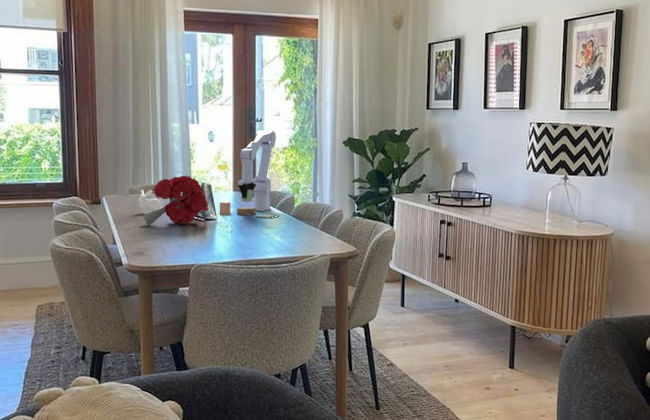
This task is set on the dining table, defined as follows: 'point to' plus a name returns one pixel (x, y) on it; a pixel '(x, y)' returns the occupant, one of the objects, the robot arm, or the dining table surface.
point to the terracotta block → (225, 207)
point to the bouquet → (179, 200)
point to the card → (266, 216)
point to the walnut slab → (246, 211)
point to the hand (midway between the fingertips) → (247, 197)
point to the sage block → (248, 196)
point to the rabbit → (149, 203)
